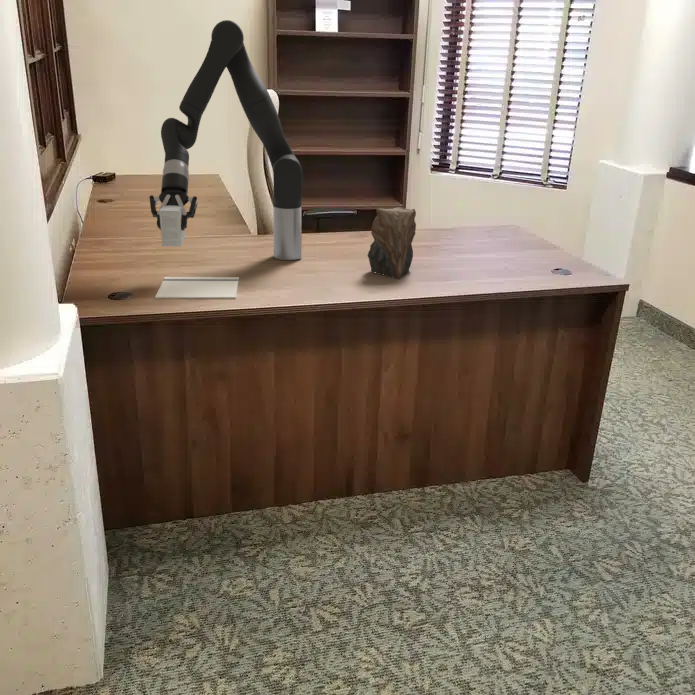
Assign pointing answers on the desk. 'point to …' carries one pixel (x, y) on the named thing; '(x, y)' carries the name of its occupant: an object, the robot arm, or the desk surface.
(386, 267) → the owl
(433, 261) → the desk surface
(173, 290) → the mat
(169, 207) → the small box
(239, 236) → the desk surface
